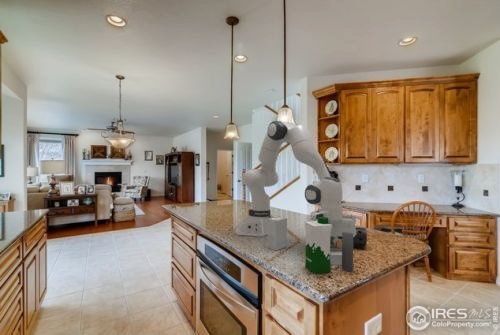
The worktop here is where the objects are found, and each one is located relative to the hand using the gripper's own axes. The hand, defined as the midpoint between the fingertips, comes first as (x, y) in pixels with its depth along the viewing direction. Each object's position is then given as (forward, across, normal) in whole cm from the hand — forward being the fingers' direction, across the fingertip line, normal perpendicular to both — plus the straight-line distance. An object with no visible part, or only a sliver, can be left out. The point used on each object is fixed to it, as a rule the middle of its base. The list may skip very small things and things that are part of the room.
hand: (331, 246), depth 103 cm
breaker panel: (+6, -1, -1) cm, 6 cm away
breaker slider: (+1, -4, 0) cm, 4 cm away
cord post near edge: (+6, -3, +11) cm, 13 cm away
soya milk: (+6, +9, +11) cm, 15 cm away
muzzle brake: (+6, -8, -20) cm, 23 cm away
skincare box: (+6, +23, -13) cm, 27 cm away
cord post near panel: (+6, -3, -11) cm, 13 cm away
